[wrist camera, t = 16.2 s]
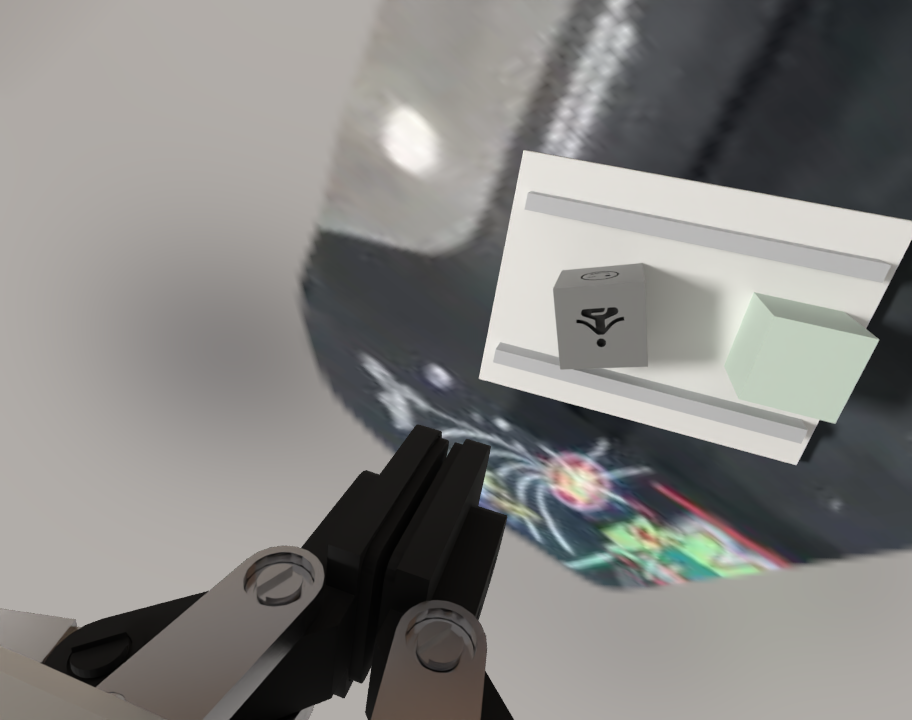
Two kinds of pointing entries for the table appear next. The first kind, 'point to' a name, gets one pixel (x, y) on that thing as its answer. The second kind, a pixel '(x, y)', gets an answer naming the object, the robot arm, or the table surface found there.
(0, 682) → the robot arm
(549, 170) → the rail board
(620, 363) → the dice cube
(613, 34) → the table surface
